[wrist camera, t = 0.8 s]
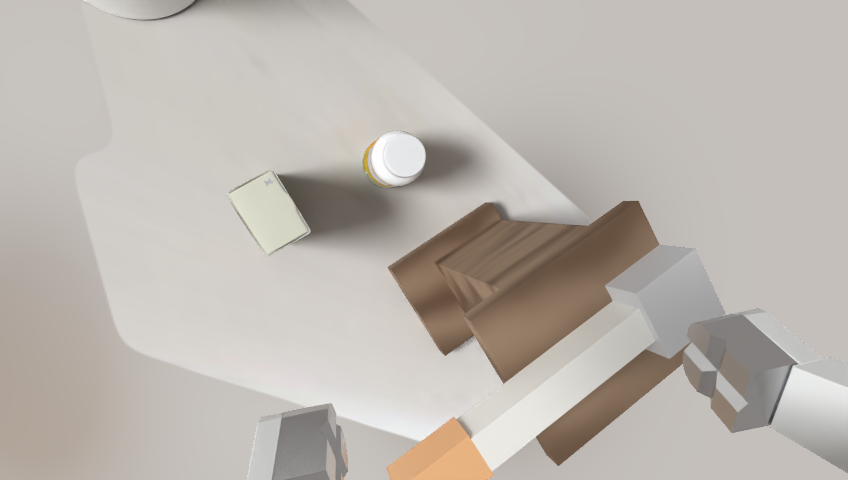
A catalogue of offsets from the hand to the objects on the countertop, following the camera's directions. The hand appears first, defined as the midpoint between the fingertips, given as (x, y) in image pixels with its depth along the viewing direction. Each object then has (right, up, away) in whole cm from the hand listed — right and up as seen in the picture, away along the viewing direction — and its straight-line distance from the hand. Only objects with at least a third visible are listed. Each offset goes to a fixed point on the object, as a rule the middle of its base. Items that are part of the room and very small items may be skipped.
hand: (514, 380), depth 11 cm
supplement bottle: (-6, +12, +43) cm, 45 cm away
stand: (+3, -1, +46) cm, 46 cm away
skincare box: (-18, +6, +40) cm, 44 cm away
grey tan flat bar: (+6, -5, +20) cm, 22 cm away
